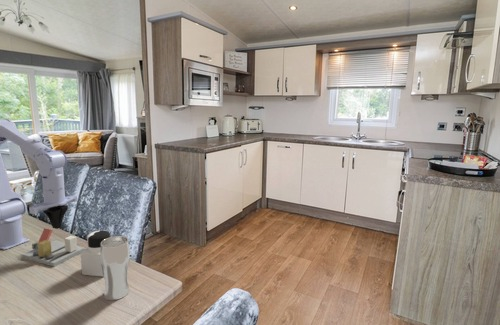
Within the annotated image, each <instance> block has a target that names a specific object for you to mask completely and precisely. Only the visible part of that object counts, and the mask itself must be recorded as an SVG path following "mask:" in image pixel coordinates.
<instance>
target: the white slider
mask: <svg viewBox="0 0 500 325" xmlns="http://www.w3.org/2000/svg"><path fill="white" fill-rule="evenodd" d="M64 242H65V251H68V252H72V251H74V250H76V249H77V246H78V239H77V236H74V235H69V236H67V237H65V238H64Z"/></svg>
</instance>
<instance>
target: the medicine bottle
mask: <svg viewBox="0 0 500 325" xmlns="http://www.w3.org/2000/svg"><path fill="white" fill-rule="evenodd" d="M109 237H111V233H110V232H109V231H107V230H95V231H93V232H91V233H89V234H88V235H87V236H86V239H87V240H86V241H87V248H85V250H84V251H83V252H81V253H80V264H81V274H82V275H83V276H91V277H92V276H93V277H99V278H100V277H102V278H104V275H103V271H102V267H101V261H100V249H101V242H102V241H103V240H104V239H106V238H109Z"/></svg>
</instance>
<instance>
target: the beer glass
mask: <svg viewBox="0 0 500 325" xmlns="http://www.w3.org/2000/svg"><path fill="white" fill-rule="evenodd" d="M130 250H131V249H130V242H129V238H128V237H126V236H124V235H115V236H114V235H113V236H110V237H109V238H106V239H104V240H103V241H102V242H101V249H100V261H101V267H102V271H103V275H104V277H103V278H104V292H103V293H104V294H103V297H104V299H106V300H108V301H117V300H121V299H123V298H125V297H126V296H127V295H128V294H129V291H130V288H129V287H130V286H129V283H128V273H129V267H130V256H131V253H130V252H131V251H130Z"/></svg>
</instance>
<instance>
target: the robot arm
mask: <svg viewBox="0 0 500 325" xmlns="http://www.w3.org/2000/svg"><path fill="white" fill-rule="evenodd" d="M7 141H10V142H11V143H13V144H15V145H17V146H18V147H20V151H21V153H23V154H24V155H26V156H27V157H28V158H30V159H31V160H32V161H34V162H35V165H36V167H37V169H38V171H39V172H38V173H39V175H40V177H41V180H42V181H41V183H42V194H43V195H42V196H43V201H42V202H39V203H37V204H35V205H33V206H30V207H29V209H28V208H27V207H28V206H27V204H26V202H25V200H24V199H23V197H22V194H20V193H18V192H16V191H13V189H12V186H11V183H10V179H9V175H8V173H7V169H6V166H5V163H4V160H3V157H2V156H3V155H2V153H1V152H0V250H4V251H5V250H8V249H12V248H14V247H17V246H18V245H22V244H24V243H26V242H29V241H30V238H26V237H24V233H23V231H24V230H23V224H22V223H23V222H22V218H23V217H24V214H25V213H27V209H28V210H29V214H31V215H37V214H38V213H41V212H43V213H44V214H45V215H46V217H47V218H48V220H49V221H50V224H51V227H52V229H56V230H57V229H58V230H59V229H60V228H62V225H63V224H62V223H63V220H64V216H65V214H66V213H67V211H68V209H69V206H68V205H67V204H69V203H73V202H74V203H75V202H78V196H77V195H75V194H74V195H73V194H72V195H69V196H66V191H65V176H64V175H65V174H64V168H65V167H66V166H67V165H68V157H67V155H66V153H64V152H63V151H62V150H59V149H57V150H55V149H52V148H51V147H49V146H47V145H46V144H44V143H43V142H42V141H41V140H40V139H39V138H29V137H28V136H27V135H25V133H23V132H22V131H20V129H18V128H17V125H16V122H13V120H10V118H0V147H1V146H2V145H3V144H5V143H7Z"/></svg>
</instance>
